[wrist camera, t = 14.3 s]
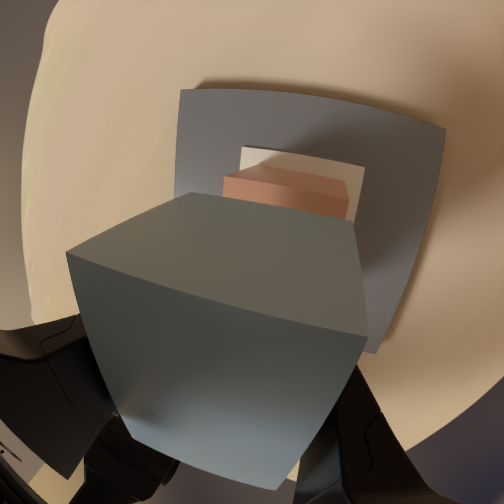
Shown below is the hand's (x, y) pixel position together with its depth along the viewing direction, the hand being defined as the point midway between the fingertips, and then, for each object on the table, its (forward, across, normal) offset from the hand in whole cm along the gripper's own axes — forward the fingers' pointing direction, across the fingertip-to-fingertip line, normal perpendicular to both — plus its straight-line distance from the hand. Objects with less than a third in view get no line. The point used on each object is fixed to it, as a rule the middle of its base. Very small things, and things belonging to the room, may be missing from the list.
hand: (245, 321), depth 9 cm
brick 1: (+1, 0, 0) cm, 1 cm away
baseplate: (+10, 0, 0) cm, 10 cm away
